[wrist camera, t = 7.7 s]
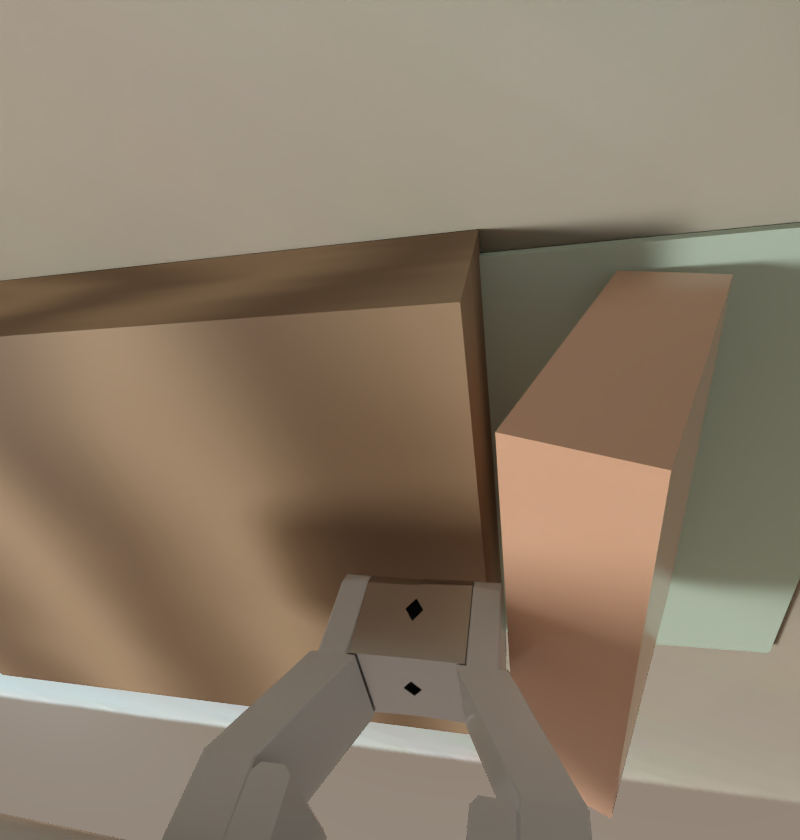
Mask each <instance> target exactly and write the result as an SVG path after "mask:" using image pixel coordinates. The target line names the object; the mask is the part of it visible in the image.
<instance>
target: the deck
mask: <svg viewBox="0 0 800 840" xmlns="http://www.w3.org/2000/svg"><path fill="white" fill-rule="evenodd" d="M479 256H480V245H479V230H469V231H460V232H451V233H442V234H432V235H423V236H414V237H405V238H395V239H386V240H377V241H368V242H358V243H349V244H340V245H331V246H321V247H312V248H303V249H293V250H284V251H275V252H266V253H256V254H247V255H238V256H229V257H219V258H210V259H201V260H192V261H182V262H173V263H164V264H155V265H145V266H136V267H127V268H118V269H108V270H99V271H90V272H81V273H71V274H62V275H53V276H44V277H34V278H25V279H16V280H7V281H0V673H1V674H2V675H9V676H16V677H24V678H32V679H40V680H48V681H56V682H63V683H71V684H79V685H87V686H95V687H103V688H110V689H118V690H126V691H134V692H142V693H150V694H157V695H165V696H173V697H181V698H189V699H197V700H204V701H212V702H220V703H228V704H236V705H244V706H251V705H252V704H253V703H254V702H255V701H256V700H258V699H259V698H260V697H261V696H262V695H263V694H264V693H265V692H266V691H267V690H268V689H269V688H271V687H272V686H273V685H274V684H275V683H276V682H277V681H278V680H279V679H280V678H281V677H282V676H284V675H285V674H286V673H287V672H288V671H289V670H290V669H291V668H292V667H293V666H294V665H295V664H297V663H298V662H299V661H300V660H301V659H302V658H303V657H304V656H305V655H306V654H307V653H308V652H310V651H318V649H319V646H320V644H321V641H322V638H323V635H324V632H325V629H326V626H327V624H328V621H329V618H330V615H331V612H332V609H333V606H334V603H335V601H336V598H337V595H338V592H339V589H340V586H341V583H342V581H343V580H344V578H345V577H346V576H347V574H355V575H371V576H382V577H394V578H406V579H418V580H422V579H440V580H463V581H475V582H490V583H502V581H501V567H500V552H499V538H498V523H497V509H496V494H495V480H494V465H493V451H492V436H491V422H490V407H489V393H488V378H487V364H486V349H485V335H484V321H483V306H482V292H481V277H480V263H479ZM374 713H375V715H374V717H373V718H372V719H371V721H370V722H377V723H385V724H392V725H400V726H408V727H416V728H424V729H432V730H439V731H447V732H455V733H463V734H469V732H468V729H467V727H466V723H462V722H455V721H449V720H442V719H435V718H429V717H422V716H414V715H403V714H392V713H382V712H374Z"/></svg>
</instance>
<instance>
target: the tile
mask: <svg viewBox="0 0 800 840" xmlns="http://www.w3.org/2000/svg"><path fill="white" fill-rule="evenodd" d="M732 277H733V274H706V273H679V272H652V271H625V270H617V272H616V273H615V274H614V276H613V277H612V278H611V279H610V281H609V282H608V283H607V285H606V286H605V287H604V289H603V290H602V291H601V293H600V294H599V295H598V297H597V298H596V299H595V301H594V302H593V303H592V305H591V306H590V307H589V309H588V310H587V311H586V313H585V314H584V315H583V317H582V318H581V319H580V321H579V322H578V323H577V324H576V326H575V327H574V328H573V330H572V331H571V332H570V334H569V335H568V336H567V338H566V339H565V340H564V342H563V343H562V344H561V346H560V347H559V348H558V350H557V351H556V352H555V354H554V355H553V356H552V358H551V359H550V360H549V362H548V363H547V364H546V366H545V367H544V368H543V370H542V371H541V372H540V373H539V375H538V376H537V377H536V379H535V380H534V381H533V383H532V384H531V385H530V387H529V388H528V389H527V391H526V392H525V393H524V395H523V396H522V397H521V399H520V400H519V401H518V403H517V404H516V405H515V407H514V408H513V409H512V411H511V412H510V413H509V415H508V416H507V417H506V418H505V420H504V421H503V422H502V424H501V425H500V426H499V428H498V429H497V430H496V432H495V438H496V454H497V469H498V485H499V501H500V517H501V533H502V549H503V565H504V581H505V596H506V612H507V628H508V644H509V660H510V674H511V676H512V678H513V679H514V681H515V683H516V685H517V686H518V688H519V690H520V692H521V693H522V695H523V697H524V698H525V700H526V702H527V704H528V705H529V707H530V709H531V710H532V712H533V714H534V716H535V717H536V719H537V721H538V723H539V724H540V726H541V728H542V729H543V731H544V733H545V735H546V736H547V738H548V740H549V742H550V743H551V745H552V747H553V748H554V750H555V752H556V754H557V755H558V757H559V759H560V761H561V762H562V764H563V766H564V767H565V769H566V771H567V773H568V774H569V776H570V778H571V780H572V781H573V783H574V785H575V786H576V788H577V790H578V792H579V793H580V795H581V797H582V799H583V800H584V802H585V804H586V805H588V806H589V807H591V808H593V809H595V810H596V811H598V812H600V813H602V814H604V815H605V816H607V817H609V818H611V817H612V813H613V809H614V805H615V801H616V798H617V794H618V790H619V785H620V782H621V778H622V774H623V770H624V766H625V762H626V758H627V754H628V750H629V746H630V743H631V739H632V735H633V731H634V727H635V723H636V719H637V715H638V711H639V707H640V703H641V699H642V695H643V691H644V687H645V684H646V680H647V676H648V672H649V668H650V664H651V660H652V656H653V652H654V648H655V644H656V640H657V636H658V632H659V628H660V624H661V621H662V617H663V613H664V609H665V605H666V601H667V597H668V593H669V588H670V583H671V578H672V573H673V568H674V563H675V558H676V553H677V549H678V544H679V539H680V534H681V529H682V524H683V519H684V514H685V509H686V504H687V499H688V494H689V489H690V484H691V480H692V475H693V470H694V465H695V460H696V455H697V450H698V445H699V440H700V435H701V430H702V425H703V420H704V415H705V410H706V406H707V401H708V396H709V391H710V386H711V381H712V376H713V371H714V366H715V361H716V356H717V351H718V346H719V341H720V336H721V332H722V327H723V322H724V317H725V312H726V307H727V302H728V297H729V292H730V287H731V282H732Z"/></svg>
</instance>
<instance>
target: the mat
mask: <svg viewBox="0 0 800 840" xmlns="http://www.w3.org/2000/svg"><path fill="white" fill-rule="evenodd" d="M479 263H480V277H481V292H482V306H483V321H484V335H485V349H486V364H487V378H488V393H489V407H490V422H491V436H492V451H493V465H494V480H495V494H496V509H497V523H498V538H499V552H500V567H501V581H502V583H503V587H504V603H505V619H506V632H508V628H507V612H506V596H505V581H504V565H503V549H502V533H501V517H500V501H499V485H498V469H497V454H496V438H495V432H496V430H497V429H498V428H499V426H500V425H501V424H502V422H503V421H504V420H505V418H506V417H507V416H508V415H509V413H510V412H511V411H512V409H513V408H514V407H515V405H516V404H517V403H518V401H519V400H520V399H521V397H522V396H523V395H524V393H525V392H526V391H527V389H528V388H529V387H530V385H531V384H532V383H533V381H534V380H535V379H536V377H537V376H538V375H539V373H540V372H541V371H542V370H543V368H544V367H545V366H546V364H547V363H548V362H549V360H550V359H551V358H552V356H553V355H554V354H555V352H556V351H557V350H558V348H559V347H560V346H561V344H562V343H563V342H564V340H565V339H566V338H567V336H568V335H569V334H570V332H571V331H572V330H573V328H574V327H575V326H576V324H577V323H578V322H579V321H580V319H581V318H582V317H583V315H584V314H585V313H586V311H587V310H588V309H589V307H590V306H591V305H592V303H593V302H594V301H595V299H596V298H597V297H598V295H599V294H600V293H601V291H602V290H603V289H604V287H605V286H606V285H607V283H608V282H609V281H610V279H611V278H612V277H613V276H614V274H615V273H616V272H617V270H625V271H652V272H679V273H706V274H733V277H732V282H731V287H730V292H729V297H728V302H727V307H726V312H725V317H724V322H723V327H722V332H721V336H720V341H719V346H718V351H717V356H716V361H715V366H714V371H713V376H712V381H711V386H710V391H709V396H708V401H707V406H706V410H705V415H704V420H703V425H702V430H701V435H700V440H699V445H698V450H697V455H696V460H695V465H694V470H693V475H692V480H691V484H690V489H689V494H688V499H687V504H686V509H685V514H684V519H683V524H682V529H681V534H680V539H679V544H678V549H677V553H676V558H675V563H674V568H673V573H672V578H671V583H670V588H669V593H668V597H667V601H666V605H665V609H664V613H663V617H662V621H661V624H660V628H659V632H658V636H657V640H656V644H661V645H673V646H686V647H699V648H712V649H724V650H737V651H750V652H762V653H770V650H771V648H772V645H773V643H774V640H775V638H776V635H777V633H778V631H779V628H780V626H781V623H782V621H783V618H784V616H785V613H786V611H787V608H788V606H789V603H790V601H791V598H792V596H793V593H794V591H795V589H796V586H797V584H798V581H799V579H800V223H789V224H779V225H769V226H758V227H748V228H738V229H727V230H717V231H707V232H696V233H686V234H676V235H666V236H655V237H645V238H635V239H624V240H614V241H604V242H593V243H583V244H573V245H562V246H552V247H542V248H531V249H521V250H511V251H500V252H490V253H480V256H479Z"/></svg>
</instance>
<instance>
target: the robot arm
mask: <svg viewBox="0 0 800 840" xmlns="http://www.w3.org/2000/svg"><path fill="white" fill-rule="evenodd" d="M374 712H382V713H392V714H403V715H414V716H422V717H429V718H435V719H442V720H449V721H455V722H462V723H466V727H467V729H468V732H469V734H470V736H471V739H472V741H473V744H474V746H475V748H476V751H477V753H478V755H479V758H480V760H481V762H482V765H483V767H484V769H485V772H486V774H487V776H488V779H489V781H490V784H491V786H492V788H493V791H494V793H495V795H496V798H493V797H485V796H477V797H476V798H475V799H474V800H473V801H472V802H471V803H470V804H469V814H468V825H467V837H466V840H592V834H591V822H590V811H589V809H588V807H587V805H586V804H585V802H584V800H583V799H582V797H581V795H580V793H579V792H578V790H577V788H576V786H575V785H574V783H573V781H572V780H571V778H570V776H569V774H568V773H567V771H566V769H565V767H564V766H563V764H562V762H561V761H560V759H559V757H558V755H557V754H556V752H555V750H554V748H553V747H552V745H551V743H550V742H549V740H548V738H547V736H546V735H545V733H544V731H543V729H542V728H541V726H540V724H539V723H538V721H537V719H536V717H535V716H534V714H533V712H532V710H531V709H530V707H529V705H528V704H527V702H526V700H525V698H524V697H523V695H522V693H521V692H520V690H519V688H518V686H517V685H516V683H515V681H514V679H513V678H512V676H511V674H510V673H509V671H508V670H506V619H505V603H504V587H503V583H490V582H475V581H463V580H440V579H422V580H418V579H406V578H394V577H382V576H371V575H355V574H347V576H346V577H345V578H344V580H343V581H342V583H341V586H340V589H339V592H338V595H337V598H336V601H335V603H334V606H333V609H332V612H331V615H330V618H329V621H328V624H327V626H326V629H325V632H324V635H323V638H322V641H321V644H320V646H319V649H318V651H310V652H308V653H307V654H306V655H305V656H304V657H303V658H302V659H301V660H300V661H299V662H298V663H297V664H295V665H294V666H293V667H292V668H291V669H290V670H289V671H288V672H287V673H286V674H285V675H284V676H282V677H281V678H280V679H279V680H278V681H277V682H276V683H275V684H274V685H273V686H272V687H271V688H269V689H268V690H267V691H266V692H265V693H264V694H263V695H262V696H261V697H260V698H259V699H258V700H256V701H255V702H254V703H253V704H252V705H251V706H250V707H249V708H248V709H247V710H246V711H245V712H243V713H242V714H241V715H240V716H239V717H238V718H237V719H236V720H235V721H234V722H233V723H232V724H230V725H229V726H228V727H227V728H226V729H225V730H224V731H223V732H222V733H221V734H220V735H219V736H217V738H216V739H214V740H213V741H212V742H211V743H210V744H209V745H208V746H207V747H206V748H204V750H203V752H202V754H201V756H200V759H199V761H198V763H197V765H196V767H195V769H194V771H193V773H192V776H191V778H190V780H189V782H188V784H187V786H186V789H185V791H184V793H183V795H182V797H181V799H180V801H179V804H178V806H177V808H176V810H175V812H174V814H173V816H172V818H171V821H170V823H169V825H168V827H167V829H166V831H165V833H164V836H163V838H162V840H326V838H327V837H326V835H325V832H324V830H323V827H322V826H321V824H320V822H319V821H318V819H317V818H316V816H315V814H314V812H313V811H312V809H311V807H310V806H309V804H308V801H309V800H310V798H311V797H312V796H313V794H314V793H315V792H316V790H317V789H318V788H319V786H320V785H321V784H322V783H323V781H324V780H325V779H326V778H327V776H328V775H329V774H330V772H331V771H332V770H333V768H334V767H335V766H336V765H337V763H338V762H339V761H340V759H341V758H342V757H343V755H344V754H345V753H346V752H347V750H348V749H349V748H350V747H351V745H352V744H353V743H354V741H355V740H356V739H357V737H358V736H359V735H360V734H361V732H362V731H363V730H364V728H365V727H366V726H367V725H368V723H369V722H370V721H371V719H372V718H373V717H374V715H375V713H374ZM0 840H124V839H119V838H115V837H110V836H105V835H100V834H96V833H91V832H86V831H82V830H77V829H72V828H68V827H63V826H58V825H53V824H49V823H44V822H39V821H35V820H30V819H25V818H21V817H15V816H11V815H7V814H2V813H0Z"/></svg>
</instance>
